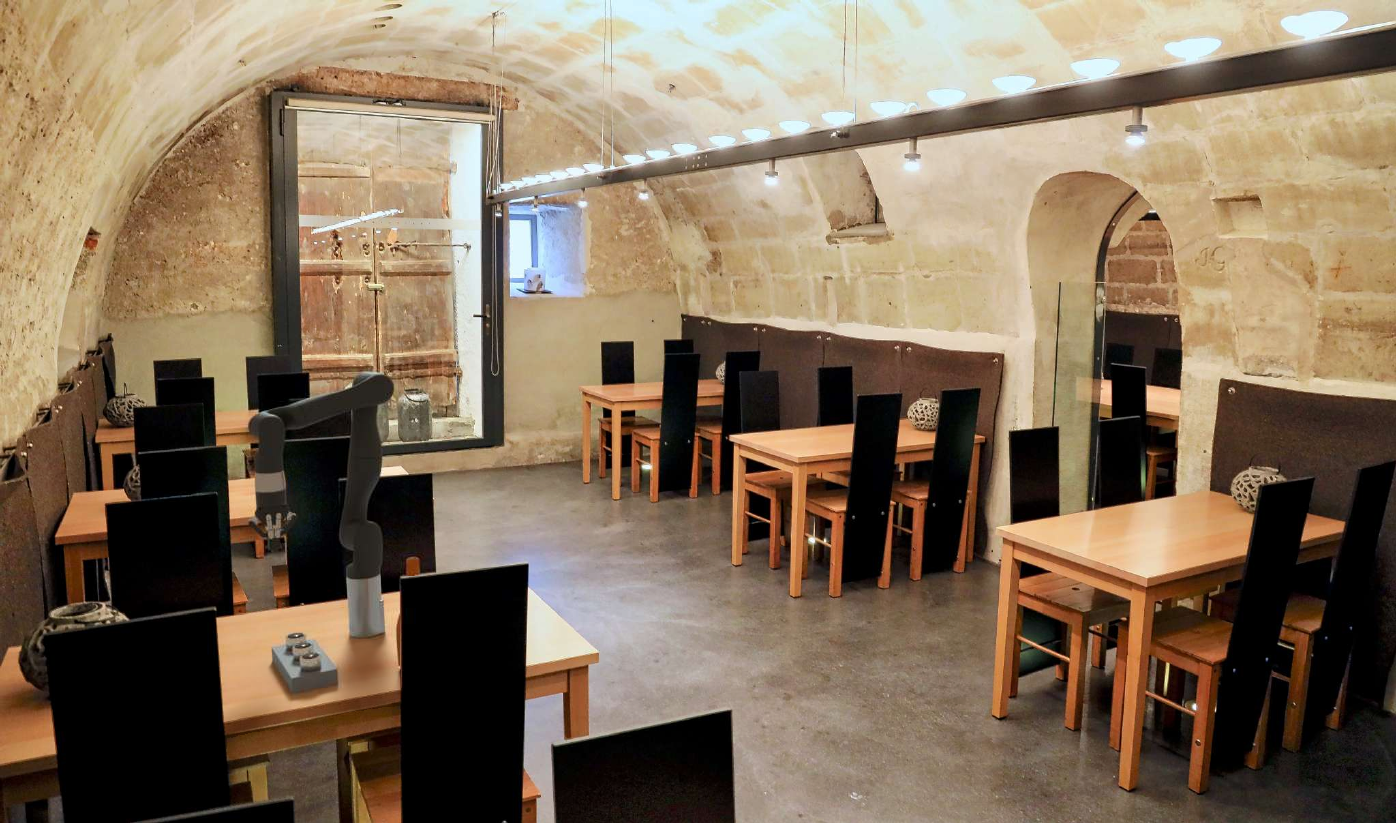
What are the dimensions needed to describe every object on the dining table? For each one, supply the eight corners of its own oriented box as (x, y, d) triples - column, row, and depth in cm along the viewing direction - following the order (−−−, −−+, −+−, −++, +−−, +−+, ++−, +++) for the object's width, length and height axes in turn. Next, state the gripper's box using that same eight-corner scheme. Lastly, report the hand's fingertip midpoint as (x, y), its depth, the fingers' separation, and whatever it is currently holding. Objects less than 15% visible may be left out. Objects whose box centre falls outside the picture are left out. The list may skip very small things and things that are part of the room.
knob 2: (311, 651, 270) (310, 640, 270) (315, 657, 266) (315, 646, 266) (291, 655, 268) (290, 644, 267) (295, 662, 263) (294, 650, 263)
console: (315, 652, 281) (314, 638, 280) (338, 683, 260) (337, 668, 259) (272, 661, 275) (271, 647, 274) (292, 693, 254) (291, 678, 254)
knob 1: (304, 642, 277) (303, 630, 277) (308, 647, 273) (307, 636, 273) (284, 645, 275) (283, 634, 274) (288, 651, 271) (287, 640, 270)
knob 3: (318, 662, 263) (318, 650, 263) (323, 668, 259) (322, 656, 259) (298, 666, 261) (297, 654, 260) (302, 673, 256) (302, 660, 256)
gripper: (293, 482, 280) (297, 544, 282) (241, 488, 273) (245, 551, 275) (299, 487, 274) (303, 550, 276) (246, 493, 267) (250, 558, 269)
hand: (274, 551), depth 276 cm, fingers closed
